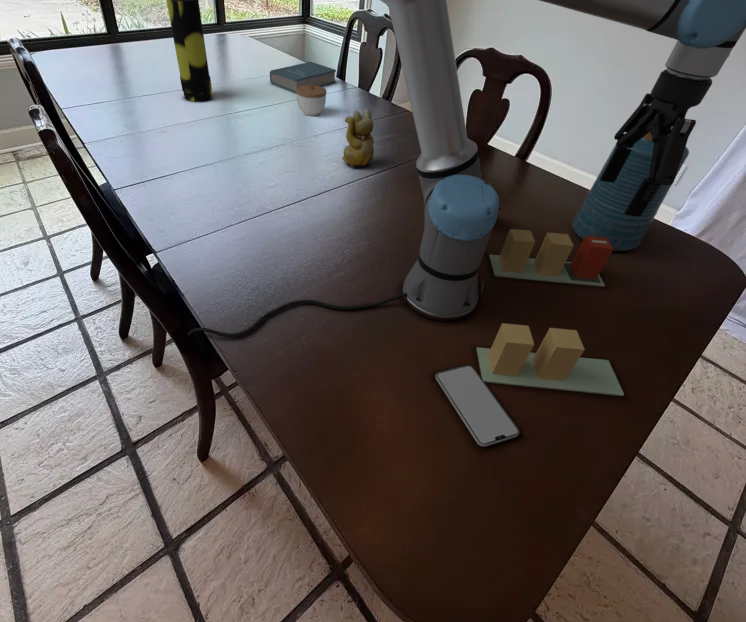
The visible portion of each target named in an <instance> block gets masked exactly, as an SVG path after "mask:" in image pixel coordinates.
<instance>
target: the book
mask: <svg viewBox="0 0 746 622" xmlns="http://www.w3.org/2000/svg"><path fill="white" fill-rule="evenodd" d="M336 72H337V69H335V68H331V67H328V66H326V65H322V64H319V63H316V62H313V61H307V62H304V63H298V64H294V65H289V66H285V67H281V68H277V69H271V70H270V71H269V82H270V84H271V85H274V86H275V87H278V88H280V89H284V90H286V91H289V92H290V93H294V94H296V95H297V92H296V89H297V88H298V87H300V86H304V85H310V84H313V85H316V86H320V87H323V88H324V87H327V86H330V85H335V84H336V83H337V82H336V78H335V77H336Z"/></svg>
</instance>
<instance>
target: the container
mask: <svg viewBox="0 0 746 622" xmlns="http://www.w3.org/2000/svg"><path fill="white" fill-rule="evenodd" d="M199 1H200V0H166V5H167V11H168V16H169V21H170V28H171V32H172V33H171V34H172V37H173V44H174V50H175V54H176V60H177V66H178V71H179V75H180V76H179V80H180V84H181V90H182V92H183V97H184V99H185V100H186V101H188V102H193V103H201V102H207V101H210V100H212V98H213V92H212V91H213V87H212V80H211V76H210V69H209V64H208V57H207V50H206V43H205V36H204V29H203V24H202V23H203V21H202V14H201V7H200V2H199Z"/></svg>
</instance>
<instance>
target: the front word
mask: <svg viewBox="0 0 746 622" xmlns="http://www.w3.org/2000/svg"><path fill="white" fill-rule="evenodd" d="M534 347H535V341H534V338H533V335H532V332H531V329H530V326H529V325H527V324H526V325H524V324H515V323H514V324H513V323H503V322H502V323H501V325H500V327H499V329H498V331H497V333H496V336H495V338H494V341H493V342H492V345H491V348H489V347H479V346H477V347H476V354H477V360H478V364H479V372H480V377H481V379H482V380H483V381H484V383H485V384H487V383H488V384H495V385H506V386H507V385H508V386H517V387H518V386H519V387H527V388H537V389H545V390H546V389H547V390H557V391H565V392H567V391H568V392H577V393H585V394H598V395H606V396H617V397H618V396H619V397H624V396H625V393H624V391H623V389H622V387H621V384H620V382H619V380H618V377H617V375H616V373H615V371H614V368H613V367H612V365H611V362H610V360H609V359H600V358H591V357H582V354H583V353H584V352H585V350H586V349H585V347H584V345H583V341H582V340H581V337H580V334H579V333H578V330H576V329H566V328H557V327H549V328H548V331H547V332H546V334H545V335H544V337H543V339H542V341H541V343H540V345H539V346H538V349H537V350H536V352H532V350H533V348H534Z"/></svg>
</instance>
